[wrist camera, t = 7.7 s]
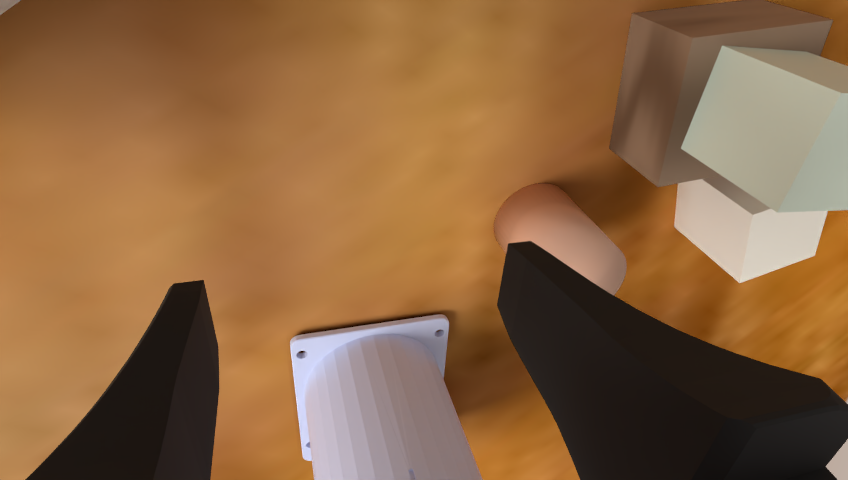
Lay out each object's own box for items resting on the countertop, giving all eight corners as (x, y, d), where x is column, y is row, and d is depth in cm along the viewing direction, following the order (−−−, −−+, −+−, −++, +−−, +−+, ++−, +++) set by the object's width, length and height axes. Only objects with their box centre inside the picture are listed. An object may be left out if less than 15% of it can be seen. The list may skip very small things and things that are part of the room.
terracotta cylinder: (561, 248, 29) (613, 312, 25) (489, 257, 28) (531, 325, 24) (577, 179, 27) (637, 237, 23) (499, 186, 26) (547, 248, 22)
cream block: (739, 203, 31) (814, 255, 27) (673, 226, 30) (739, 283, 26) (750, 138, 28) (834, 185, 24) (679, 163, 28) (752, 215, 24)
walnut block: (717, 128, 27) (779, 164, 24) (606, 146, 26) (657, 187, 23) (754, -3, 24) (833, 19, 21) (629, 12, 23) (692, 37, 20)
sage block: (759, 148, 23) (865, 209, 19) (680, 148, 22) (776, 212, 18) (806, 51, 21) (937, 97, 17) (721, 45, 20) (841, 93, 16)
